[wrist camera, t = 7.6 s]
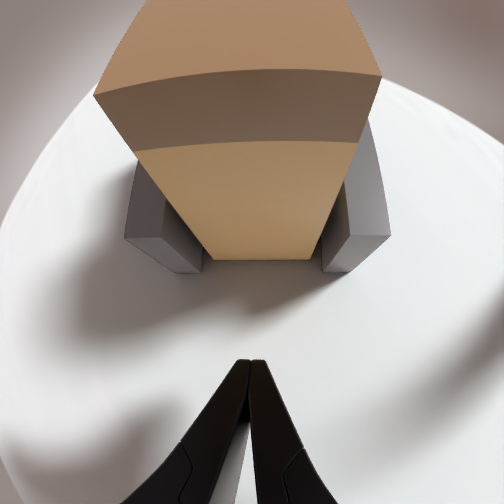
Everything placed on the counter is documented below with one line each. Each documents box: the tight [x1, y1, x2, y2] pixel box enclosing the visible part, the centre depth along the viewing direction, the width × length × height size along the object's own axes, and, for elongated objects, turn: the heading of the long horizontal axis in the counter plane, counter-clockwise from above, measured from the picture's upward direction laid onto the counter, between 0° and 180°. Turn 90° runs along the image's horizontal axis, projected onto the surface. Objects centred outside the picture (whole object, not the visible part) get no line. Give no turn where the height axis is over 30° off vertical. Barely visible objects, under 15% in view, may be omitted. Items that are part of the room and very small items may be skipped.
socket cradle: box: [124, 118, 391, 273], centre depth 14 cm, size 9×9×6 cm
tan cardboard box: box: [93, 0, 382, 260], centre depth 10 cm, size 5×5×12 cm
